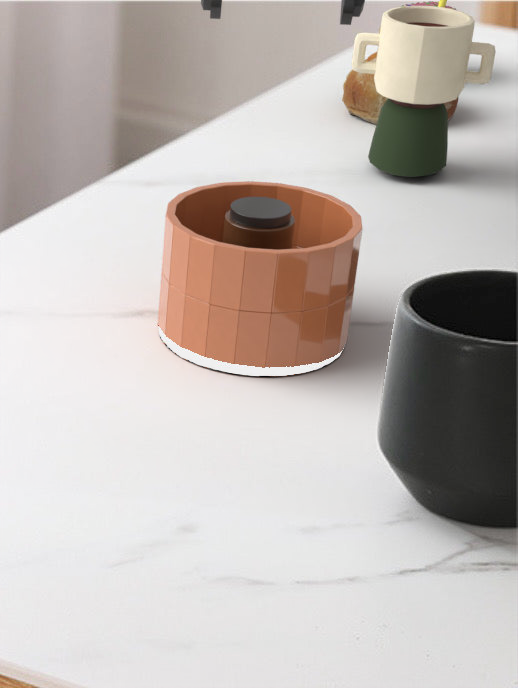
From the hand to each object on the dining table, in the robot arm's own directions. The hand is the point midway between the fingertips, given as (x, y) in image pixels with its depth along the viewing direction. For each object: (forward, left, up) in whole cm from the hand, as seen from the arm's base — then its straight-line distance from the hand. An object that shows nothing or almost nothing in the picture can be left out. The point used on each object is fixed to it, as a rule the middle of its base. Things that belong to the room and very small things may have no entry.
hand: (281, 16), depth 104 cm
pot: (0, +10, -19) cm, 21 cm away
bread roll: (-12, -40, -19) cm, 45 cm away
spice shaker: (0, +10, -18) cm, 21 cm away
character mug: (-12, -24, -19) cm, 32 cm away
